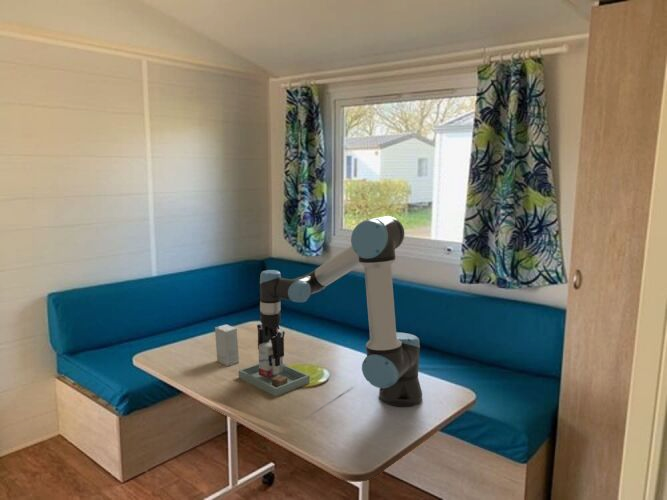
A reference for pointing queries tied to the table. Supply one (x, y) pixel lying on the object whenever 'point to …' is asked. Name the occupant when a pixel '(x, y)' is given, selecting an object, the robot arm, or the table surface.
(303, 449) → the table surface
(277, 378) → the walnut block
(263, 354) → the ink box
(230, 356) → the skincare box
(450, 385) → the table surface
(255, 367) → the tray
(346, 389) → the table surface
